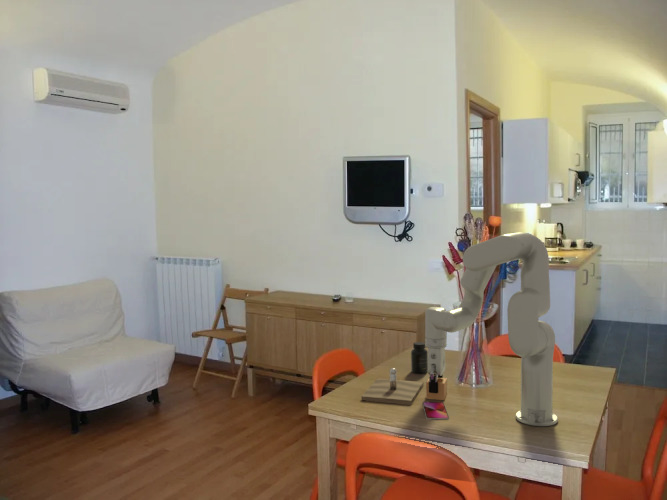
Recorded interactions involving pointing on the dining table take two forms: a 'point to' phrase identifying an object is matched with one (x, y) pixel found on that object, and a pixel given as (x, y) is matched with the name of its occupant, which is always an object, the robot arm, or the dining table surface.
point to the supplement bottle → (419, 358)
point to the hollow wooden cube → (441, 390)
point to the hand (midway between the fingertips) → (435, 388)
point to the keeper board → (393, 392)
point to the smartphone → (435, 411)
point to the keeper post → (393, 379)
